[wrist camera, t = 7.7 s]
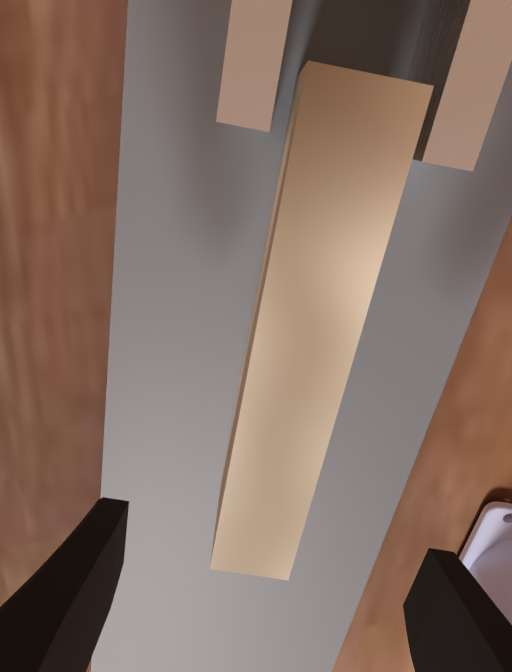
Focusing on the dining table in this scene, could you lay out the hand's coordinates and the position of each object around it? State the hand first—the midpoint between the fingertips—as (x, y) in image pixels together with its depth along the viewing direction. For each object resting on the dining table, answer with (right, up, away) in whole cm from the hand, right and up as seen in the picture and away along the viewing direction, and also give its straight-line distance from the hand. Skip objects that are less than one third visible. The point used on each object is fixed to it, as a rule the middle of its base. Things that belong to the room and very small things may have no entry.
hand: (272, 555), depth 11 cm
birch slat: (+1, +6, +5) cm, 8 cm away
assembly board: (0, +2, +8) cm, 8 cm away
